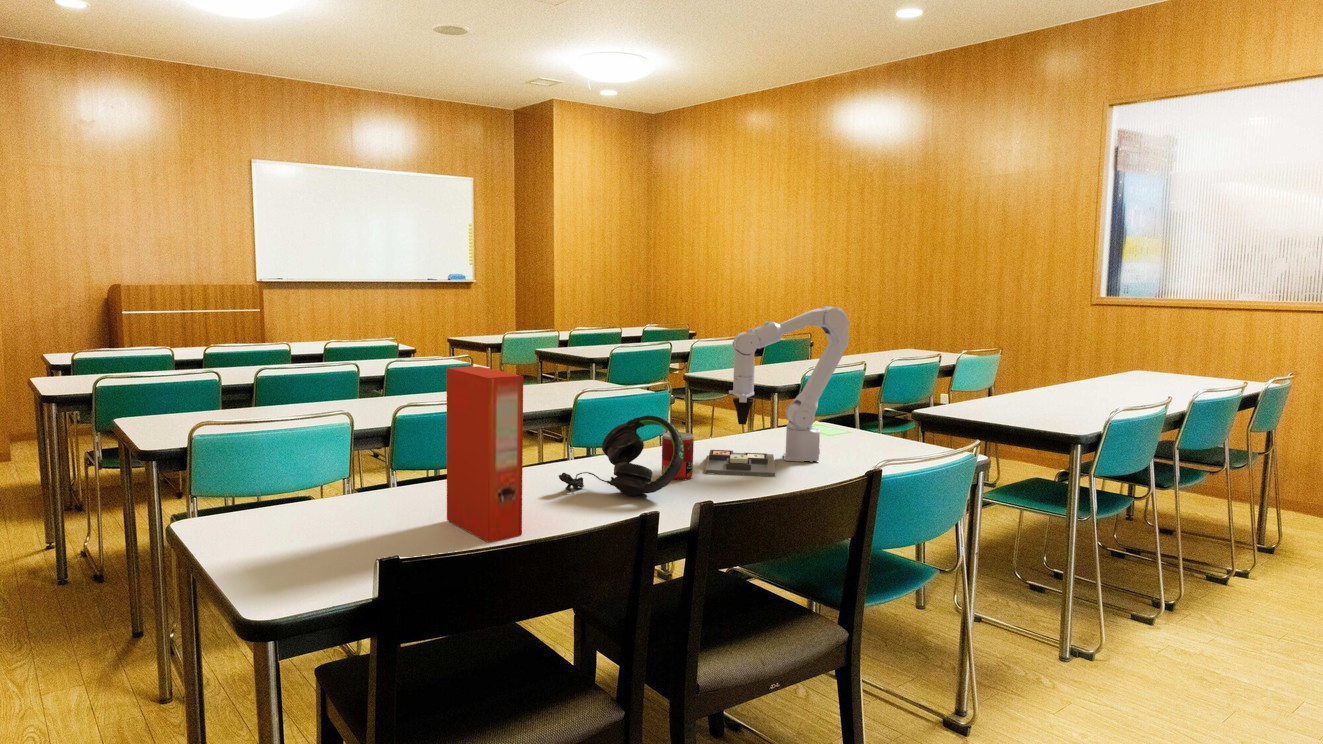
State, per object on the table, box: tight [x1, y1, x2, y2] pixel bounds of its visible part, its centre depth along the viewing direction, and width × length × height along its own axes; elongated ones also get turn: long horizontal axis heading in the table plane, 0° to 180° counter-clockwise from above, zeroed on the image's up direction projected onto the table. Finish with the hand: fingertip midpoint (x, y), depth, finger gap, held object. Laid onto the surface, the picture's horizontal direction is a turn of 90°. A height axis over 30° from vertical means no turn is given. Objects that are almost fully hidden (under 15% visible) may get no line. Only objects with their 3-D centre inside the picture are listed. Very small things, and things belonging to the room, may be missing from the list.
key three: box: [713, 451, 730, 455], centre depth 237 cm, size 5×5×1 cm
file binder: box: [446, 365, 524, 543], centre depth 171 cm, size 8×17×32 cm, turn 39°
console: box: [705, 449, 776, 478], centre depth 232 cm, size 18×22×2 cm
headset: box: [558, 415, 684, 497], centre depth 200 cm, size 18×14×29 cm
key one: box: [747, 454, 764, 458], centre depth 234 cm, size 5×5×1 cm
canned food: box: [661, 431, 695, 481], centre depth 217 cm, size 8×8×11 cm
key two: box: [730, 455, 748, 464], centre depth 226 cm, size 5×5×1 cm
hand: (742, 424), depth 239 cm, fingers closed
